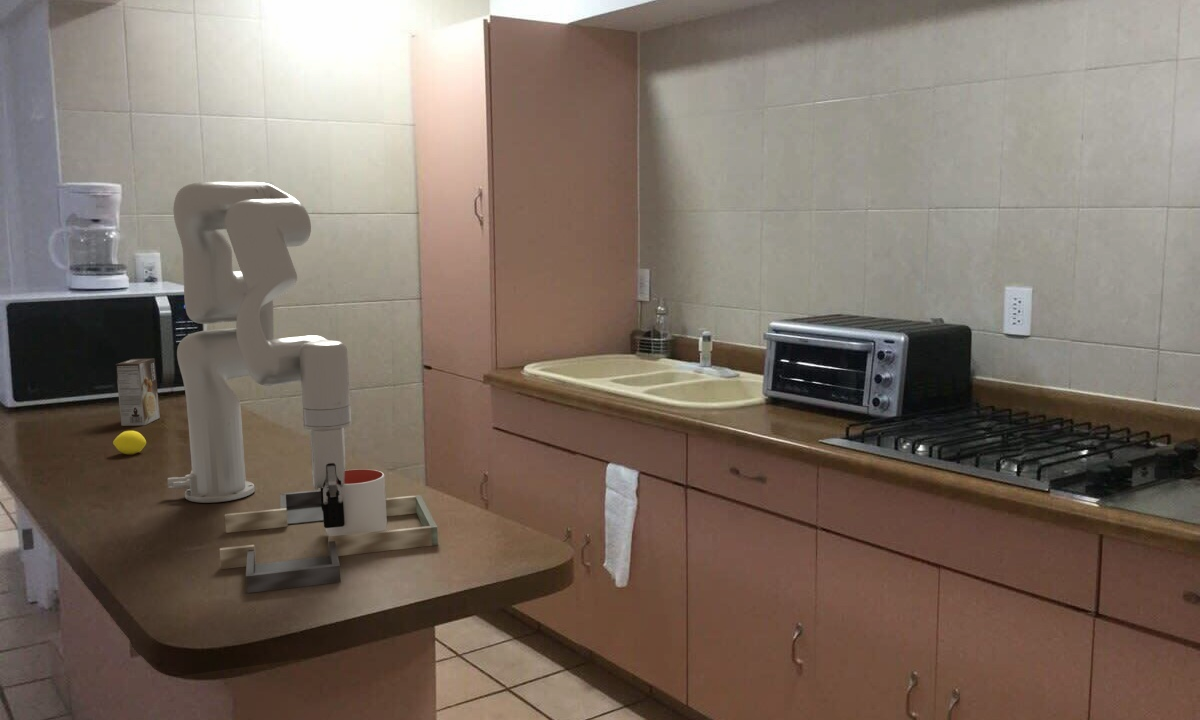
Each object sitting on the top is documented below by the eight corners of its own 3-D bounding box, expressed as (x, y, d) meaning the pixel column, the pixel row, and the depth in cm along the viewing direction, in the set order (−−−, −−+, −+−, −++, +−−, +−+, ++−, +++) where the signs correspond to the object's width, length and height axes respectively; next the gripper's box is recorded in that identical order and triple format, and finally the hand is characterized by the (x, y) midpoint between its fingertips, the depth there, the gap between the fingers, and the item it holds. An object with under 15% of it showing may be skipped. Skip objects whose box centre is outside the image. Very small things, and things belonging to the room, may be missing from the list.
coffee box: (136, 418, 278) (131, 358, 276) (160, 418, 278) (155, 358, 276) (120, 426, 269) (114, 363, 267) (145, 425, 269) (140, 363, 267)
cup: (333, 548, 169) (330, 487, 168) (319, 531, 178) (316, 473, 177) (394, 538, 174) (391, 479, 172) (378, 522, 183) (375, 466, 181)
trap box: (217, 596, 149) (215, 576, 149) (229, 511, 191) (227, 495, 190) (449, 569, 159) (449, 549, 158) (412, 494, 200) (412, 478, 200)
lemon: (143, 452, 242) (145, 428, 242) (147, 456, 238) (149, 432, 237) (110, 452, 238) (111, 428, 238) (113, 456, 234) (115, 432, 233)
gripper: (302, 408, 179) (308, 506, 182) (304, 429, 163) (310, 536, 165) (347, 405, 181) (352, 502, 184) (354, 425, 165) (359, 531, 167)
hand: (332, 518), depth 175 cm, fingers open, 9 cm apart
